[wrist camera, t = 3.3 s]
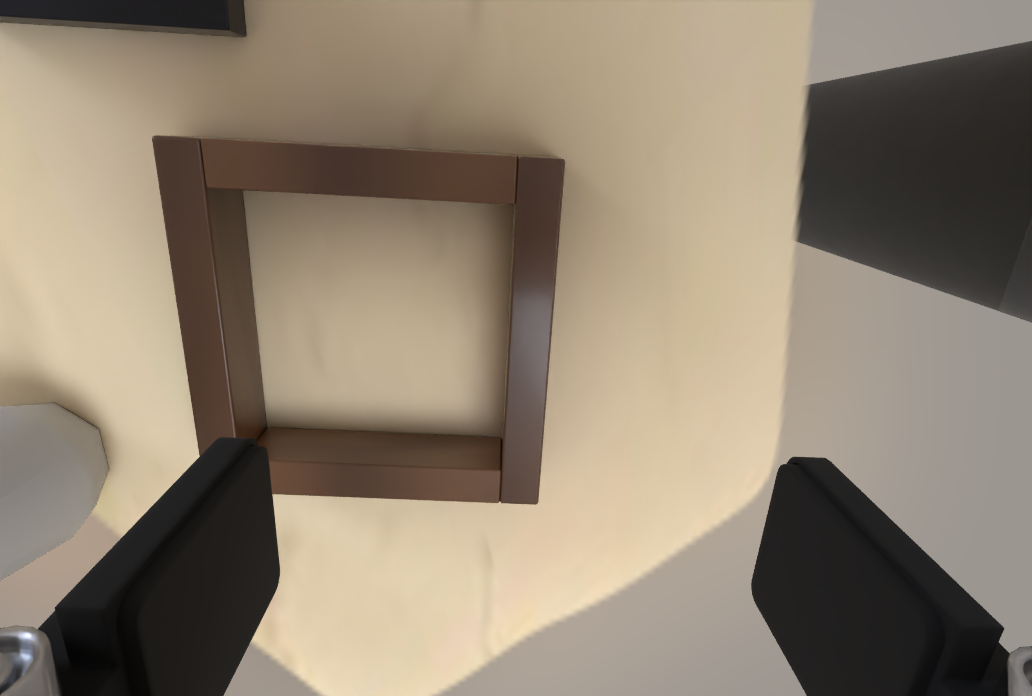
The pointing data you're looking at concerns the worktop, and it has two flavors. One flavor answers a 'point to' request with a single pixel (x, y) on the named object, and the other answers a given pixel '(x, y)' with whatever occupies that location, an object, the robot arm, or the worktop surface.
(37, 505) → the salt shaker
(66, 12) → the peg stand
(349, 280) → the worktop surface
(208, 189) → the walnut frame
